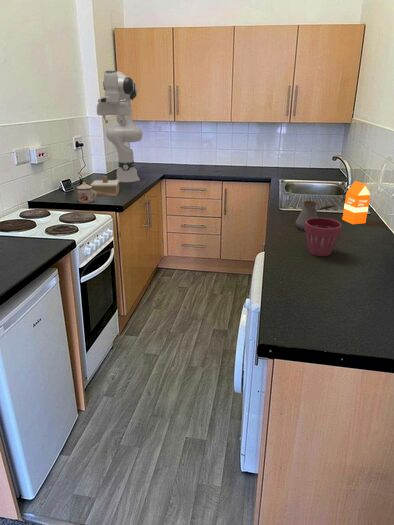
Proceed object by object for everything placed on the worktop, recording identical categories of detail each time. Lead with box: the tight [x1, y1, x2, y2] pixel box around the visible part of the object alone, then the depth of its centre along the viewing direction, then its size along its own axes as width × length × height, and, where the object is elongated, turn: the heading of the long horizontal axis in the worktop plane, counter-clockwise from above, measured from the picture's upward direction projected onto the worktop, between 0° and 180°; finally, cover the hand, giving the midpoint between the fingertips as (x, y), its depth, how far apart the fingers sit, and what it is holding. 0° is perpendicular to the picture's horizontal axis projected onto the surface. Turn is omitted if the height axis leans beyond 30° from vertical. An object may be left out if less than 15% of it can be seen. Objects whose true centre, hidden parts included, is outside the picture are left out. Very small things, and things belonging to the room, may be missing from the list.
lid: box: [90, 175, 120, 186], centre depth 249 cm, size 14×16×5 cm
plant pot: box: [304, 217, 343, 257], centre depth 158 cm, size 14×14×13 cm
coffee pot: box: [295, 200, 337, 231], centre depth 183 cm, size 21×12×15 cm, turn 27°
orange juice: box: [341, 180, 371, 225], centre depth 197 cm, size 8×9×20 cm
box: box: [92, 182, 120, 197], centre depth 252 cm, size 13×15×7 cm
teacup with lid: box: [76, 182, 97, 204], centre depth 233 cm, size 12×9×12 cm
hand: (114, 123), depth 247 cm, fingers open, 8 cm apart
